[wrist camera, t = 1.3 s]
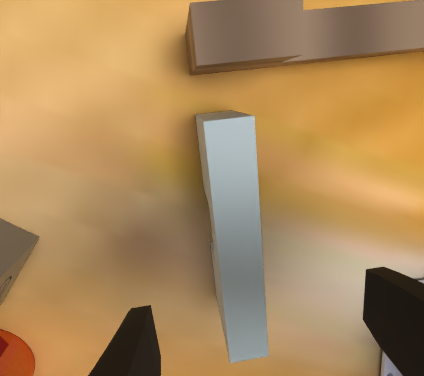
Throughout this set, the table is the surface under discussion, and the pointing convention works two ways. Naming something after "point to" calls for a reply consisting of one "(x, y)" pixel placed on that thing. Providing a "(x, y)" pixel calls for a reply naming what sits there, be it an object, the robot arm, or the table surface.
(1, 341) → the paper cup
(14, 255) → the gray cube with hole
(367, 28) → the walnut u-shaped block
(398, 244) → the table surface
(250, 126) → the pale blue-gray block
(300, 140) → the table surface
